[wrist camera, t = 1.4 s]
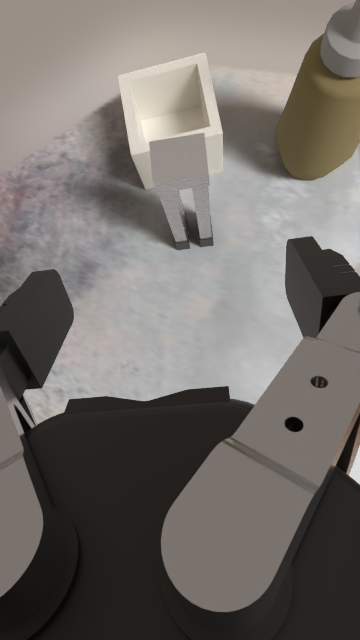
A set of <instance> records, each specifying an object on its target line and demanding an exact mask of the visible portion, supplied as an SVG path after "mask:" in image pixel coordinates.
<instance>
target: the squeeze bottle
mask: <svg viewBox="0 0 360 640" xmlns="http://www.w3.org/2000/svg"><path fill="white" fill-rule="evenodd" d="M359 142H360V0H356V2H354V3H351V4H348V5H345V6H343V7H342V8H341V9H339V10H338V11H337V12H336V13H334V14H333V16H332V17H331V19H330V21H329V22H328V24H327V27H326V30H325V33H324V34H323V35H321V36H320V37H319V38H318V39H317V40H315V41H314V42H313V43H312V44H311V46H310V48H309V50H308V51H307V53H306V55H305V57H304V60H303V62H302V65H301V67H300V70H299V73H298V75H297V78H296V80H295V83H294V85H293V88H292V91H291V93H290V96H289V98H288V101H287V104H286V106H285V109H284V111H283V114H282V116H281V119H280V122H279V124H278V130H277V144H278V148H279V151H280V155H281V159H282V162H283V164H284V167H285V169H286V170H287V171H288V172H289V173H290V174H291V175H292V176H294V177H297V178H299V179H301V180H315V179H318V178H321V177H324V176H325V175H327V174H328V173H330V172H331V171H333V170H334V169H336V168H338V167H339V166H340V165H342V164H343V163H344V162H345V161H347V160H348V159H349V158H351V157H352V155H353V153H354V152H355V150H356V148H357V146H358V144H359Z"/></svg>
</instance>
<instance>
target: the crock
mask: <svg viewBox="0 0 360 640" xmlns="http://www.w3.org/2000/svg"><path fill="white" fill-rule="evenodd" d="M118 80H119V86H120V92H121V98H122V104H123V110H124V116H125V122H126V128H127V134H128V140H129V146H130V152H131V156H132V159H133V161H134V163H135V166H136V168H137V171H138V173H139V175H140V178H141V180H142V182H143V185H144V187H145V189H146V190H148V189H152V188H154V185H153V183H152V171H151V159H150V147H149V142H150V141H156V140H162V139H168V138H174V137H181V136H187V135H193V134H199V133H204V135H205V144H206V153H207V162H208V172H209V175H212V174H217V173H221V172H223V131H222V127H221V122H220V117H219V113H218V108H217V104H216V99H215V94H214V90H213V85H212V81H211V76H210V71H209V67H208V62H207V58H206V53H201V54H197V55H194V56H190V57H186V58H182V59H178V60H175V61H171V62H167V63H163V64H160V65H156V66H152V67H148V68H144V69H141V70H137V71H133V72H129V73H126V74H122V75H119V76H118Z"/></svg>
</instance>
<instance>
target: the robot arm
mask: <svg viewBox="0 0 360 640" xmlns="http://www.w3.org/2000/svg"><path fill="white" fill-rule="evenodd" d="M285 288H286V295H287V298H288V301H289V303H290V306H291V308H292V311H293V313H294V316H295V318H296V320H297V323H298V325H299V328H300V330H301V332H302V335H303V337H304V338H303V340H302V341H301V342H300V344H299V345H298V346H297V348H296V349H295V351H294V352H293V353H292V355H291V356H290V357H289V359H288V360H287V362H286V363H285V364H284V366H283V367H282V369H281V370H280V371H279V373H278V374H277V375H276V377H275V378H274V380H273V381H272V382H271V384H270V385H269V386H268V388H267V389H266V391H265V392H264V393H263V395H262V396H261V398H260V399H259V400H258V402H257V403H256V404H255V405H254V404H251V403H248V402H245V401H240V400H235V399H230V396H229V387H228V386H225V387H213V388H201V389H189V390H185V391H181V392H178V393H174V394H171V395H167V396H164V397H160V398H157V399H153V400H150V401H136V400H129V399H122V398H115V397H108V396H105V397H93V398H81V399H69V401H68V404H67V407H66V409H65V412H64V413H61V414H58V415H56V416H53V417H51V418H49V419H47V420H45V421H43V422H41V423H40V424H37V422H36V419H35V417H34V415H33V413H32V410H31V408H30V406H29V404H28V401H27V400H26V398H25V397H24V395H23V393H24V391H25V390H26V389H37V388H42V387H43V385H44V383H45V380H46V378H47V376H48V374H49V372H50V370H51V368H52V365H53V363H54V361H55V359H56V357H57V355H58V353H59V350H60V348H61V346H62V344H63V342H64V340H65V338H66V335H67V333H68V331H69V329H70V327H71V325H72V323H73V318H74V312H73V307H72V304H71V302H70V299H69V297H68V295H67V292H66V290H65V287H64V285H63V283H62V280H61V278H60V275H59V274H58V272H57V271H56V270H54V269H52V270H44V271H36V272H32V273H31V274H30V276H29V277H28V278H27V279H26V281H25V282H24V283H23V284H22V286H21V287H20V288H19V289H18V290H16V291H15V292H13V293H12V294H11V295H9V296H8V298H7V299H6V300H5V301H4V303H3V304H2V306H0V640H360V485H359V484H358V483H357V482H356V481H355V480H353V479H352V478H351V477H350V476H349V473H350V471H351V468H352V465H353V462H354V460H355V457H356V454H357V451H358V448H359V445H360V277H359V276H358V274H357V273H356V272H355V270H354V269H353V268H352V266H351V265H349V263H348V262H347V260H346V259H345V258H344V257H343V255H341V254H339V253H337V252H335V251H333V250H331V249H326V250H322V249H321V248H320V246H319V245H318V243H317V242H316V241H315V239H314V238H313V237H312V236H311V237H303V238H295V239H288V241H287V246H286V273H285Z"/></svg>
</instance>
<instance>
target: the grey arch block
mask: <svg viewBox="0 0 360 640" xmlns="http://www.w3.org/2000/svg"><path fill="white" fill-rule="evenodd" d="M149 147H150V159H151V171H152V183H153V185H154V188H155V191H156V193H158V194H159V197H160V200H161V203H162V205H163V208H164V211H165V214H166V216H167V219H168V222H169V225H170V228H171V230H172V233H173V236H174V239H175V245H176V247H177V250H181V249H189V248H190V244H189V234H188V223H187V218H186V213H184V210H183V205H182V201H181V197H180V193H179V190H182V189H189V188H192V190H193V197H194V203H195V209H196V215H197V221H198V230H199V240H200V246H201V247H205V246H213V235H212V226H211V216H210V205H209V191H208V186H209V172H208V162H207V153H206V144H205V135H204V133H199V134H193V135H187V136H181V137H174V138H168V139H162V140H156V141H150V142H149Z"/></svg>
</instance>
